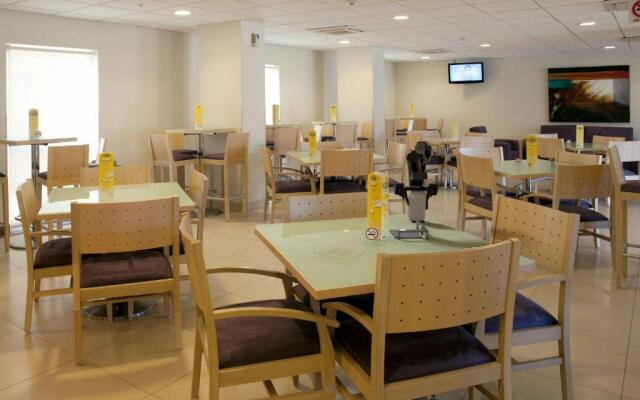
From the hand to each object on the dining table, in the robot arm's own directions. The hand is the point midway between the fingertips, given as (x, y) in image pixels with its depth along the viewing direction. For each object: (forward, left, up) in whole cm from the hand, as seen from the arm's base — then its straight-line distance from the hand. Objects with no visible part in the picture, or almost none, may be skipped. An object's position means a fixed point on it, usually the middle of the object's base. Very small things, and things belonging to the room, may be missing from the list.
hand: (417, 205), depth 239 cm
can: (-1, 0, -7) cm, 7 cm away
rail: (-3, -3, -13) cm, 14 cm away
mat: (-2, -4, -13) cm, 14 cm away
